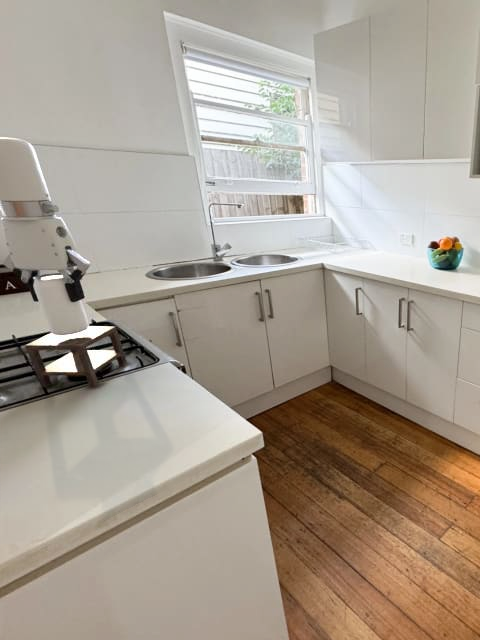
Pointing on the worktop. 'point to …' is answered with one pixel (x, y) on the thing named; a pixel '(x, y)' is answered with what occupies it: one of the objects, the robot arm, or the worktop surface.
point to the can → (59, 305)
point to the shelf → (76, 354)
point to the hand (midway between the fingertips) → (59, 299)
